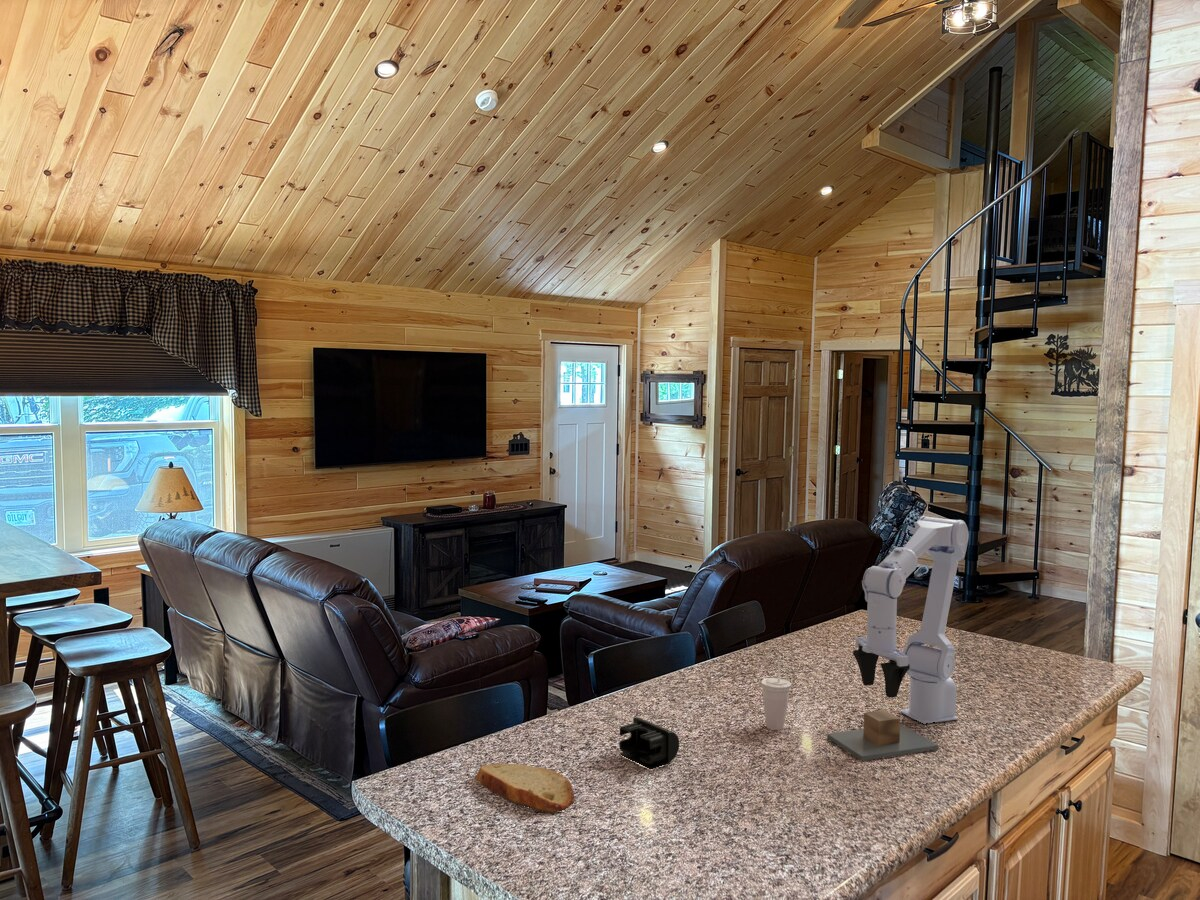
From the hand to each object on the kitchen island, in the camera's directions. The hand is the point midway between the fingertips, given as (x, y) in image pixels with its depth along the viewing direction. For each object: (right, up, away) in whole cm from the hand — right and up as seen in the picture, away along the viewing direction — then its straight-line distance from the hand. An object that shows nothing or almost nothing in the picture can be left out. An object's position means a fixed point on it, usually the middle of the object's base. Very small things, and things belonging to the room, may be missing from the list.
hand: (879, 690), depth 185 cm
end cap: (-48, -11, -10) cm, 50 cm away
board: (0, -11, -2) cm, 11 cm away
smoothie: (-20, -10, +7) cm, 24 cm away
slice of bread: (-71, -12, -24) cm, 76 cm away
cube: (0, -10, -2) cm, 10 cm away
